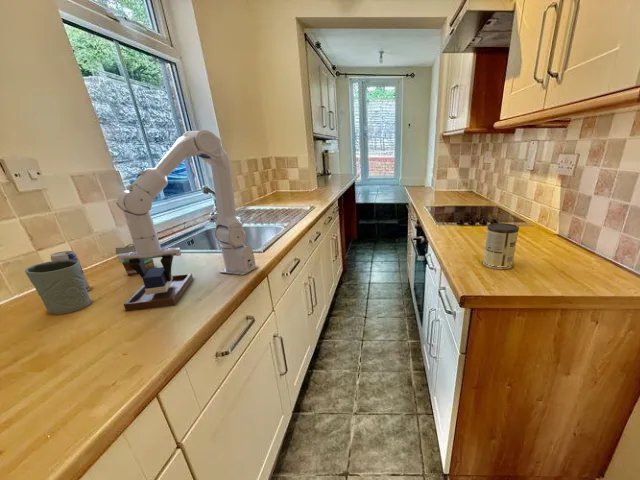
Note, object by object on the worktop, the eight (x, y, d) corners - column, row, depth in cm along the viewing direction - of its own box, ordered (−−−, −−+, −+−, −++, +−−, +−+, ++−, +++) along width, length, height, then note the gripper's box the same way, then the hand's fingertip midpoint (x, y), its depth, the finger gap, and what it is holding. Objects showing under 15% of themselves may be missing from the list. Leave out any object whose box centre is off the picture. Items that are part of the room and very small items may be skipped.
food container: (142, 277, 106) (132, 248, 102) (124, 277, 106) (113, 248, 102) (166, 264, 117) (158, 238, 113) (150, 264, 117) (141, 238, 113)
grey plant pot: (56, 302, 89) (37, 262, 84) (101, 296, 93) (84, 257, 88) (37, 318, 81) (14, 275, 76) (87, 311, 84) (68, 269, 79)
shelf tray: (193, 278, 104) (191, 273, 103) (174, 305, 87) (172, 298, 86) (153, 282, 101) (151, 277, 101) (125, 311, 84) (123, 304, 83)
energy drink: (94, 289, 97) (79, 251, 92) (74, 296, 93) (56, 257, 88) (83, 286, 99) (67, 249, 94) (62, 293, 94) (44, 255, 89)
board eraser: (166, 291, 90) (161, 276, 88) (146, 294, 88) (141, 278, 86) (172, 278, 99) (168, 263, 97) (154, 280, 97) (149, 265, 95)
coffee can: (487, 258, 122) (492, 221, 116) (515, 263, 117) (521, 225, 111) (478, 266, 114) (483, 227, 108) (508, 271, 109) (515, 231, 103)
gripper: (177, 230, 93) (189, 273, 99) (116, 235, 88) (133, 280, 93) (173, 236, 87) (186, 281, 93) (108, 242, 82) (126, 289, 88)
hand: (159, 281), depth 93 cm, fingers closed on board eraser, 5 cm apart
